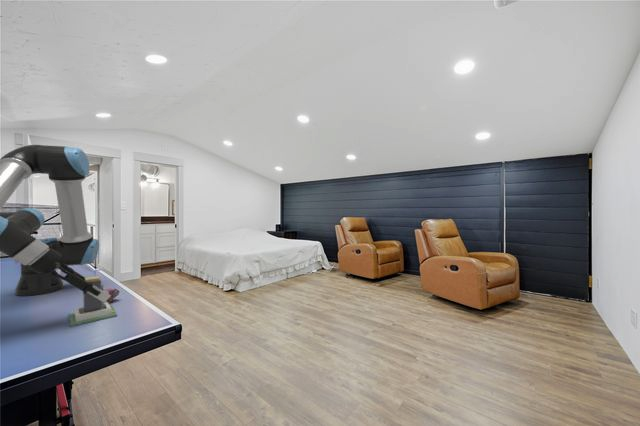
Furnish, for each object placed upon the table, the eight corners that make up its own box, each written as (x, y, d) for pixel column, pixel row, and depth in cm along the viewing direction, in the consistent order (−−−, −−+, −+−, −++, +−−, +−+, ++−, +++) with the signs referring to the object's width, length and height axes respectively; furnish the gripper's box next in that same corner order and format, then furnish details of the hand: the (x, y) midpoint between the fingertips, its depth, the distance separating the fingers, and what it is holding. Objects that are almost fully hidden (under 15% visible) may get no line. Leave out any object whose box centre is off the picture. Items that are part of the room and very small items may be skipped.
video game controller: (93, 312, 103) (99, 296, 102) (84, 306, 104) (90, 290, 103) (117, 303, 113) (123, 288, 112) (109, 297, 113) (115, 283, 113)
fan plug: (83, 309, 96) (83, 278, 95) (102, 305, 99) (102, 275, 99) (84, 312, 92) (84, 280, 92) (104, 308, 96) (103, 277, 96)
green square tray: (68, 315, 96) (68, 308, 96) (111, 307, 104) (111, 300, 104) (70, 326, 87) (70, 318, 87) (117, 316, 96) (117, 308, 95)
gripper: (28, 262, 91) (94, 300, 103) (24, 271, 78) (99, 313, 90) (50, 244, 94) (111, 283, 106) (50, 250, 82) (119, 293, 94)
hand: (106, 297), depth 98 cm, fingers closed on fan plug, 4 cm apart
